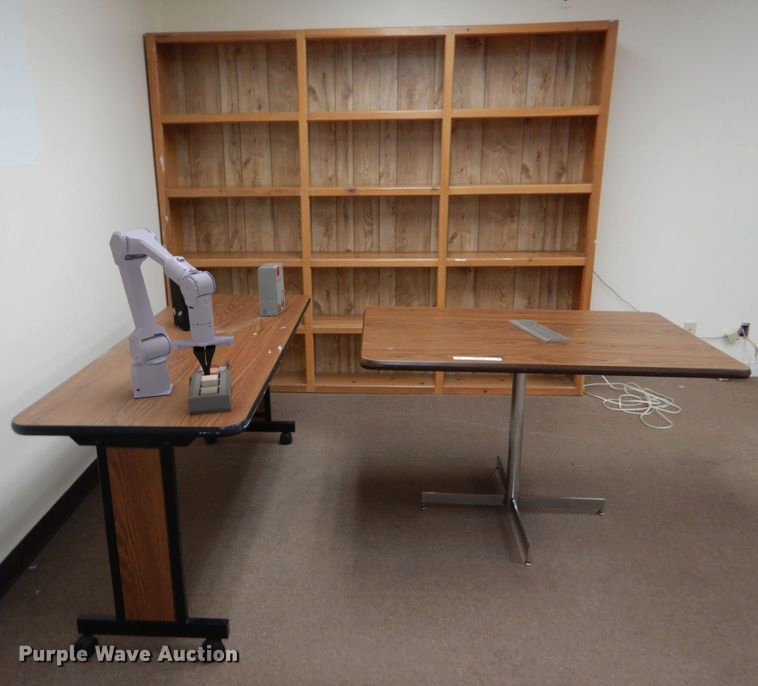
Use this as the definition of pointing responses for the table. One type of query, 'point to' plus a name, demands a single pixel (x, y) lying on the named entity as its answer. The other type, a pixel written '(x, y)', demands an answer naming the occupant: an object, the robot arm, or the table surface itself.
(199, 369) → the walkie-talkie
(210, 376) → the offwhite key
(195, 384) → the keypad housing
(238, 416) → the table surface
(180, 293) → the handheld gaming console
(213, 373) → the terracotta key
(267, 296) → the hard drive box
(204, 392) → the sage key
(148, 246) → the robot arm
